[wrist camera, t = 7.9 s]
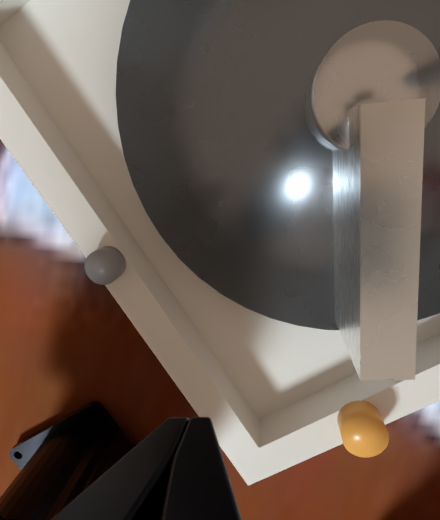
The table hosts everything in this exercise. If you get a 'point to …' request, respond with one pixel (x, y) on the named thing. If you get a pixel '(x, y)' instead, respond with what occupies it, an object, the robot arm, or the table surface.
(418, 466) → the table surface
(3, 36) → the dial housing
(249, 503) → the table surface
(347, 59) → the dial
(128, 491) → the robot arm
